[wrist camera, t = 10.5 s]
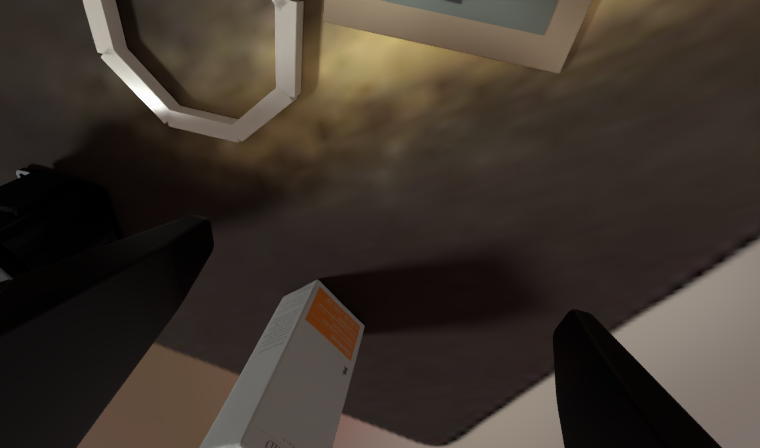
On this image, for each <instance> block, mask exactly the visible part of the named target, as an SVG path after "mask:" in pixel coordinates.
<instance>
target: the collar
mask: <svg viewBox="0 0 760 448" xmlns="http://www.w3.org/2000/svg"><path fill="white" fill-rule="evenodd" d="M272 1H273V3H274V4H275V57H276V88H275V89H274V90H273V91H271V92H270V93H269V94H268V95H267V96H266V97H264V98H263V99H262V100H261V101H260V102H258V103H257V104H256V105H255V106H254V107H253V108H251V109H250V110H249V111H248V112H247V113H245V114H244V115H243V116H242V117H241V118H240V119H235V118H230V117H226V116H222V115H218V114H213V113H209V112H205V111H201V110H196V109H192V108H188V107H184V106H180V105H179V104H178V103H177V102H176V101H175V99H174V98H173V97H172V96H171V95H170V94H169V93H168V92H167V91H166V90H165V89H164V88H163V86H162V85H161V84H160V83H159V82H158V81H157V80H156V79H155V78H154V77H153V76H152V75H151V73H150V72H149V71H148V70H147V69H146V68H145V67H144V66H143V65H142V64H141V63H140V62H139V60H138V59H137V58H136V57H135V56H134V55H133V54H132V53H131V52H130V51H129V50H128V48H127V46H126V42H125V37H124V33H123V29H122V25H121V21H120V17H119V12H118V8H117V4H116V0H83V3H84V7H85V10H86V14H87V17H88V21H89V24H90V28H91V31H92V35H93V38H94V42H95V45H96V49H97V52H98V53H103V55H102V56H101V58H102V59H103V60H104V61H105V62H106V64H107V65H108V66H109V67H110V68H111V69H112V70H113V71H114V72H115V73H116V74H117V75H118V76H119V77H120V78H121V79H122V80H123V81H124V82H125V83H126V84H127V85H128V86H129V87H130V88H131V89H132V90H133V92H134V93H135V94H136V95H137V96H138V97H139V98H140V99H141V100H142V101H143V102H144V103H145V104H146V105H147V106H148V107H149V108H150V109H151V110H152V111H153V112H154V113H155V114H156V115H157V116H158V117H159V119H160V120H161V121H162V122H163V123H164V124H165V123H167V122H168V125H169V126H170V127H174V128H178V129H182V130H186V131H191V132H195V133H199V134H203V135H207V136H212V137H216V138H220V139H224V140H228V141H233V142H237V143H238V142H240V141H241V142H243V141H244V140H245V139H247V138H248V137H249V136H250V135H252V134H253V133H254V132H255V131H257V130H258V129H259V128H261V127H262V126H263V125H264V124H266V123H267V122H268V121H269V120H271V119H272V118H273V117H274V116H276V115H277V114H278V113H279V112H281V111H282V110H283V109H284V108H286V107H287V106H288V105H290V104H291V103H292V102H293V101H295V100H296V99H297V98H298V95H299V94H300V93H301V71H302V40H303V9H304V1H300V0H272Z"/></svg>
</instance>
